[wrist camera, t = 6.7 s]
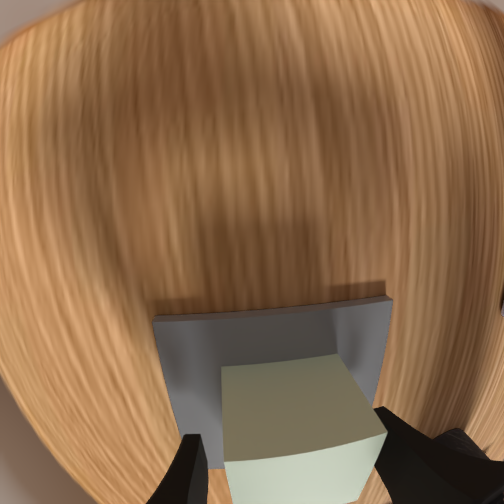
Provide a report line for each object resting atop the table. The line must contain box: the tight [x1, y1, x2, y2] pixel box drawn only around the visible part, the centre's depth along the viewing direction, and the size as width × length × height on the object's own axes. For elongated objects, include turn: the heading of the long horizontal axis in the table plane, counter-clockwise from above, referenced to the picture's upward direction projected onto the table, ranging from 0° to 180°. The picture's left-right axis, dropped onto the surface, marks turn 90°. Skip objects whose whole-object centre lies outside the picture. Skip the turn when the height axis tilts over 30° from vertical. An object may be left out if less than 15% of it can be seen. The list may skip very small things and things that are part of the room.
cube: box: [221, 354, 388, 504], centre depth 10 cm, size 5×5×5 cm
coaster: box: [152, 295, 393, 469], centre depth 13 cm, size 10×10×1 cm
